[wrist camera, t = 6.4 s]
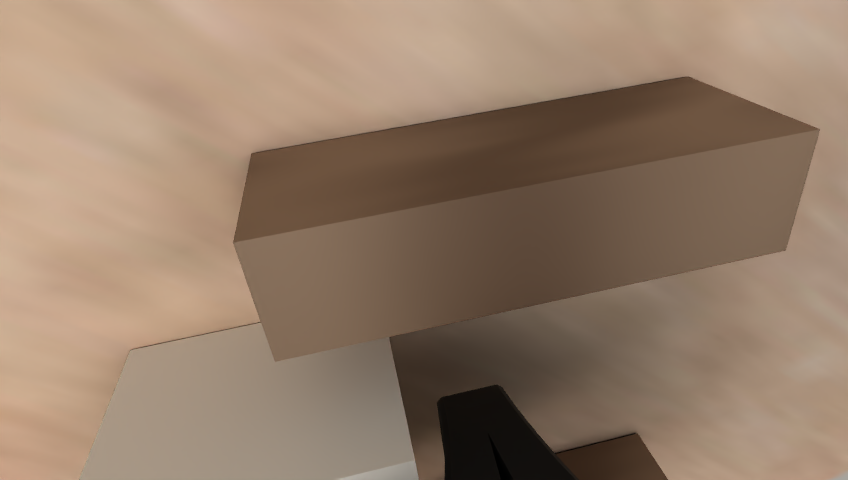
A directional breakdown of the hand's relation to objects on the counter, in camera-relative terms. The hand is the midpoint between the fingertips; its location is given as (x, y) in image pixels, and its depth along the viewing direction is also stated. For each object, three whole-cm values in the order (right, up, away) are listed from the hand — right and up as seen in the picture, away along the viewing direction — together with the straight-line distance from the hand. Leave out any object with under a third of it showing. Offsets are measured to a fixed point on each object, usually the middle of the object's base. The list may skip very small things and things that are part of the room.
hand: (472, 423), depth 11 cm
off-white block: (-4, 0, +1) cm, 4 cm away
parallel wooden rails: (+1, +1, +1) cm, 2 cm away
